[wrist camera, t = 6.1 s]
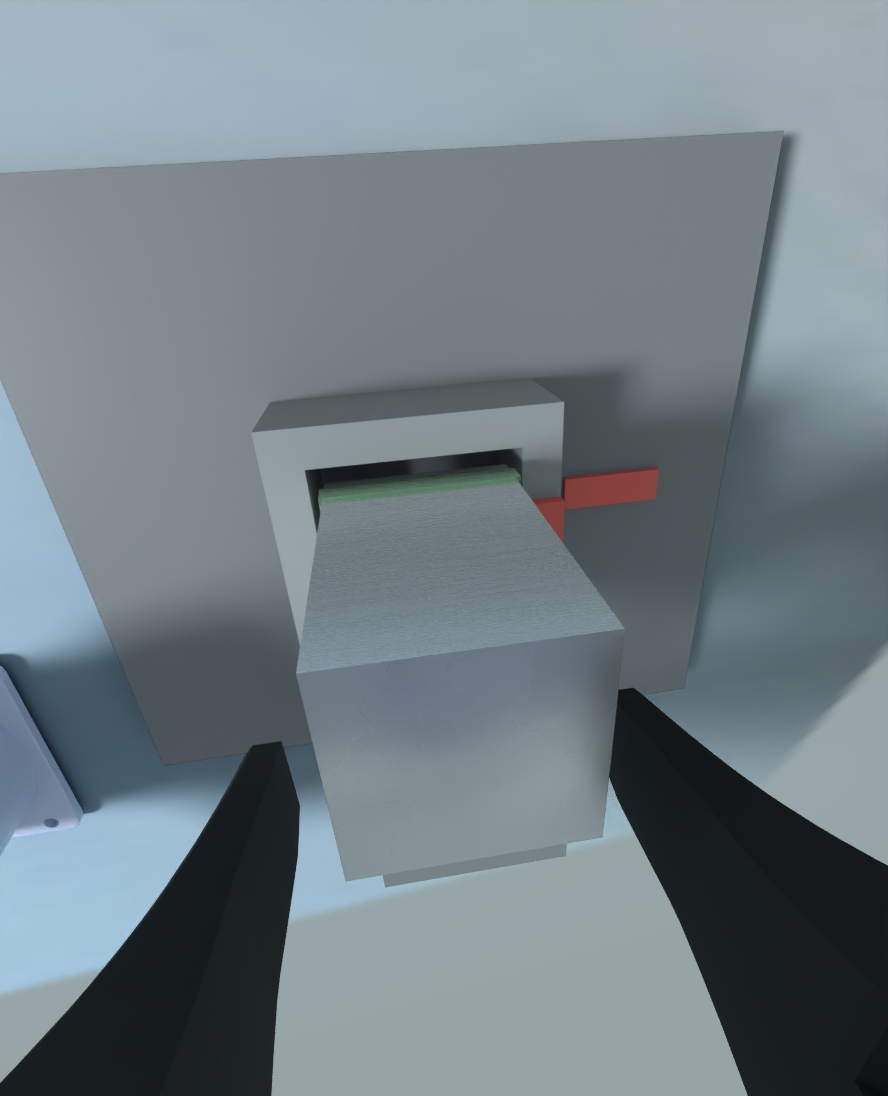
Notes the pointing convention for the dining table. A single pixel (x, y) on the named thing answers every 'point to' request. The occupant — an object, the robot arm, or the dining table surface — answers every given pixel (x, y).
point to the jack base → (373, 381)
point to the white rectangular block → (454, 677)
